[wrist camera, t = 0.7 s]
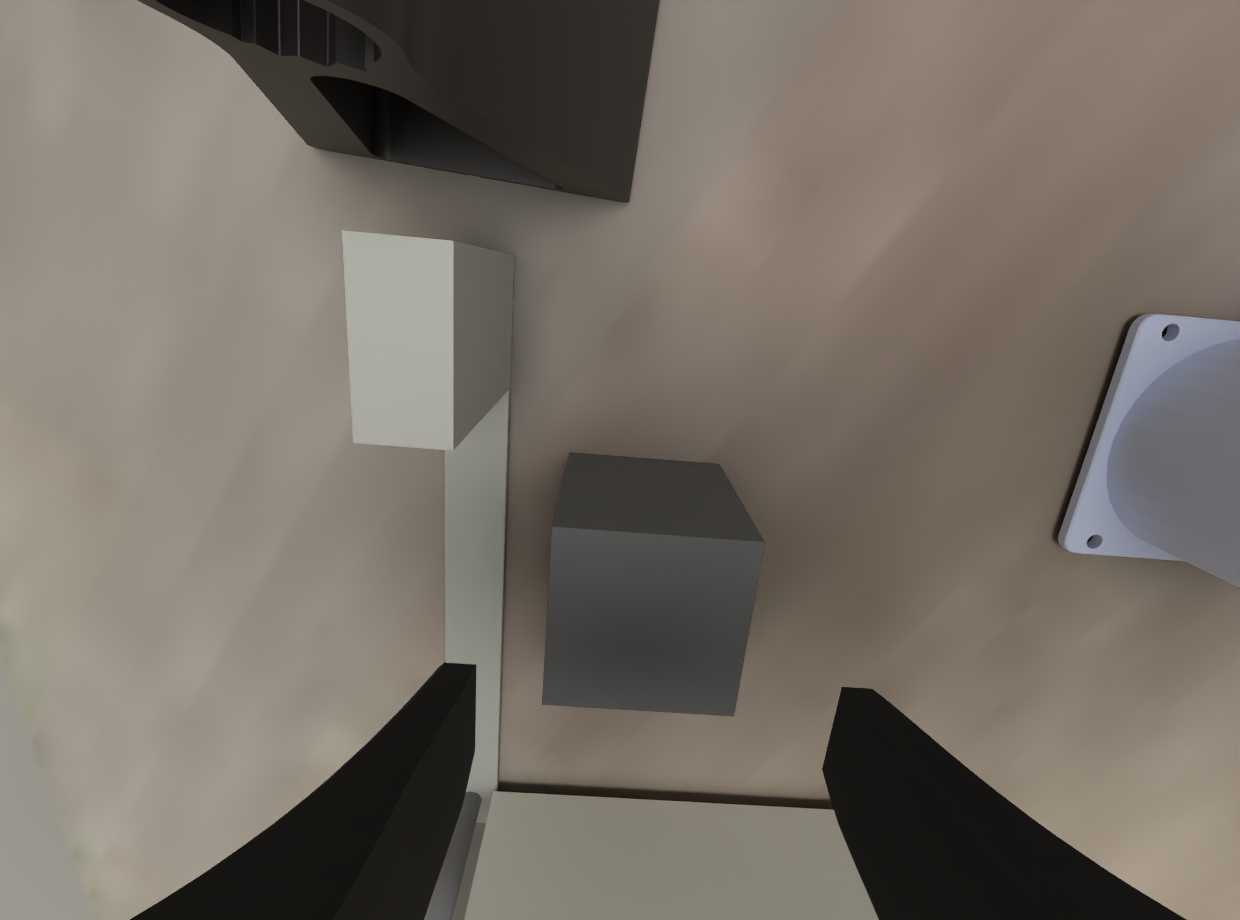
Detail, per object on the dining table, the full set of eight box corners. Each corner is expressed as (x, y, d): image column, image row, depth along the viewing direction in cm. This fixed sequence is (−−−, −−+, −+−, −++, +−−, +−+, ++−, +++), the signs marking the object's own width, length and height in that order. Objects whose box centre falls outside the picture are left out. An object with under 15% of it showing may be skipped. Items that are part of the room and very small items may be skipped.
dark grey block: (719, 464, 19) (764, 541, 14) (689, 666, 22) (718, 805, 16) (569, 452, 19) (552, 526, 13) (556, 657, 22) (537, 795, 16)
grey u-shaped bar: (514, 254, 17) (453, 240, 11) (494, 891, 25) (452, 1116, 18) (446, 248, 17) (341, 229, 10) (448, 889, 25) (388, 1114, 18)
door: (848, 866, 24) (922, 1049, 18) (491, 848, 24) (453, 1031, 18) (863, 811, 23) (946, 985, 18) (493, 790, 23) (453, 964, 17)
